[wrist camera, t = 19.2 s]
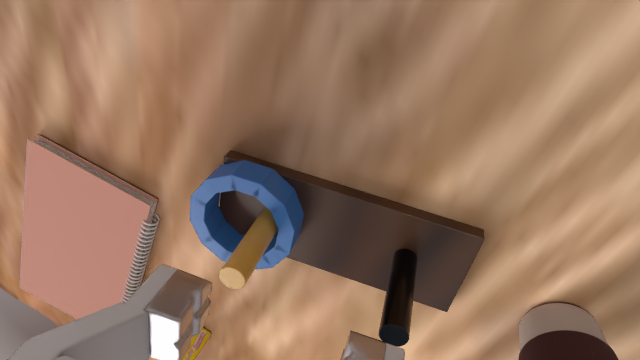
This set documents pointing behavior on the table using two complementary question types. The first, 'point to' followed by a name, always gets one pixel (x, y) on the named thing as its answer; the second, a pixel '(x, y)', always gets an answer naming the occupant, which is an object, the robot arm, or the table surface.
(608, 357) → the coffee cup
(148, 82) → the table surface
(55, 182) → the notebook
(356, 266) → the peg rack
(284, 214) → the tape roll
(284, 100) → the table surface
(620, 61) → the table surface
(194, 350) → the candy box
